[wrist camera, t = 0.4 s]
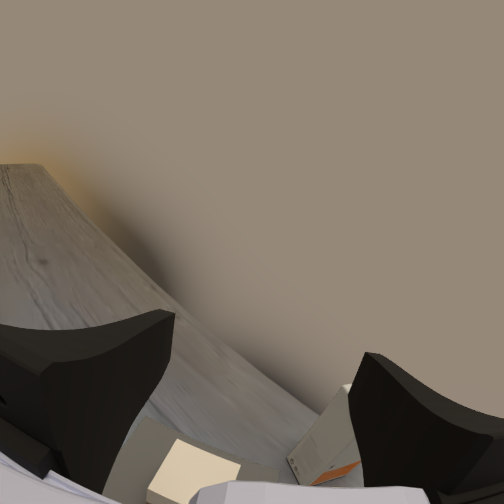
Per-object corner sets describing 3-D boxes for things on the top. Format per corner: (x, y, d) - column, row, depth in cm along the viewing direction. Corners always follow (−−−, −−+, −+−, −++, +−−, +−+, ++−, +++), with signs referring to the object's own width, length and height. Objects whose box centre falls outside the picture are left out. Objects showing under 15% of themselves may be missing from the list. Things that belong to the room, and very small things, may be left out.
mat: (241, 594, 12) (242, 594, 12) (70, 520, 13) (69, 519, 13) (278, 472, 25) (280, 470, 25) (145, 417, 26) (145, 415, 26)
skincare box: (301, 491, 23) (368, 423, 19) (285, 458, 27) (340, 382, 22) (348, 475, 26) (416, 406, 21) (331, 446, 29) (389, 374, 25)
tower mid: (211, 528, 15) (220, 519, 14) (145, 501, 16) (147, 488, 15) (230, 480, 20) (240, 464, 19) (172, 455, 20) (176, 438, 19)
